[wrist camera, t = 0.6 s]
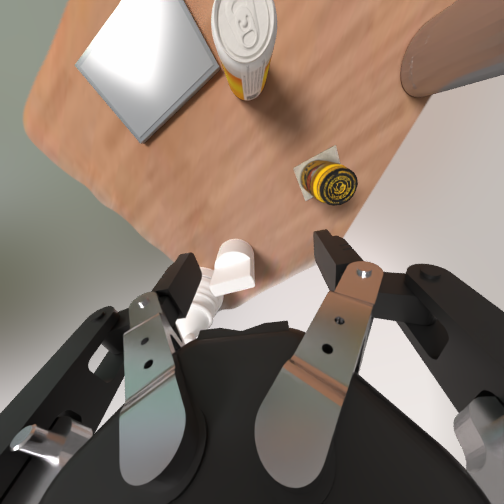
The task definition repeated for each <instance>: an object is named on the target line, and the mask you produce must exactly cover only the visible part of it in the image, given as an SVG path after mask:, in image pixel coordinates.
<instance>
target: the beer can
mask: <svg viewBox="0 0 504 504" xmlns="http://www.w3.org/2000/svg"><path fill="white" fill-rule="evenodd" d="M211 27H212V35H213V40H214V43H215V46H216V49H217V52H218V55H219V57H220V60H221V63H222V66H223V69H224V72H225V75H226V77H227V80H228V83H229V86H230V88H231V90H232V92H233V93H234V94H235V95H236V96H237V97H238V98H240V99H242V100H252V99H254V98H256V97H257V96H258V95H259V94H260V93H261V92H262V90H263V88H264V86H265V82H266V78H267V74H268V69H269V65H270V61H271V57H272V52H273V48H274V44H275V40H276V34H277V14H276V8H275V4H274V1H273V0H214V4H213V9H212V16H211Z"/></svg>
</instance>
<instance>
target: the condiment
mask: <svg viewBox="0 0 504 504" xmlns="http://www.w3.org/2000/svg"><path fill="white" fill-rule="evenodd" d="M293 169H294V172H295V175H296V177H297V180H298V183H299V185H300V188H301V191H302V193H303V196H304V198H305V201H307V200H309V199H311V198H313V197H315V198H316V199H317V200H319V201H320V202H323V203H327V204H329V205H341V204H343V203H345V202H347V201H348V200H350V199H351V198H352V197H353V195H354V193H355V191H356V188H357V185H358V182H357V177H356V175H355V173H354V172H352V171H351V170H350V169H348V168H346V167H345V166H344V165H341V164H340V161H339V156H338V153H337V148H336V145H335V146H333V147H331V148H329V149H327V150H326V151H324V152H322V153H320V154H318V155H316V156H315V157H313V158H311V159H309V160H307V161H305V162H304V163H302V164H300V165H298V166H296V167H295V168H293Z"/></svg>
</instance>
